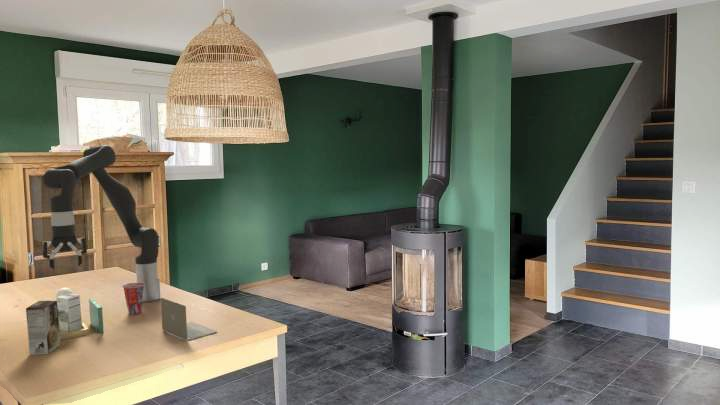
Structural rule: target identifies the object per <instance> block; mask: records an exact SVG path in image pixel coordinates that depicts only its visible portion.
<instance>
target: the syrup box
mask: <svg viewBox="0 0 720 405" xmlns="http://www.w3.org/2000/svg"><path fill="white" fill-rule="evenodd" d="M55 297H56V296H55ZM55 300H56V301H57V308H58V320H59V333H65V332H71V331H76V330H81V329H82V310H81V296H80V294H74V293H73V294H65V295H62V296H59V297H56V299H55Z"/></svg>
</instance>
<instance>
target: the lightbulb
mask: <svg viewBox="0 0 720 405" xmlns="http://www.w3.org/2000/svg"><path fill="white" fill-rule="evenodd" d="M65 294H74V293H73V290H71V288H69V287H61V288H59V289H58V290H57V292H56V293H55V297H59V296H62V295H65Z"/></svg>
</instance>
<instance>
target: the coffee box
mask: <svg viewBox="0 0 720 405" xmlns="http://www.w3.org/2000/svg"><path fill="white" fill-rule="evenodd" d="M25 312H26V324H27V326H26V327H27V340H28V349H29V351H28V352H29V355H30V356H33V355H34V356H35V355H38V356H39V355H49V354H51V353H52V352H53V351H54V350H56V349H57V348H58V347H60V345H61V340H60V333H59V320H58V308H57V300H38V301H36V302H35V303H33V304H31V305H29V306H27V307H26V308H25Z"/></svg>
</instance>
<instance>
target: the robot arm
mask: <svg viewBox="0 0 720 405" xmlns="http://www.w3.org/2000/svg"><path fill="white" fill-rule="evenodd" d="M116 159H117V156H116V152H115V150H114V148H113V147H112V146H110V145H108V144H99V145H97V146H93V147H89V148H86V149H85V150H83V154H82V157H80V158H78V159H74V160H72V161H70V162H68V163H67V164H65V165H62V166H56V167H53V168H49V169H48V170H46V171H45V172H44V174H43V176H42V182H43V184H44V186H45V187H47V188H49V189H51V190H52V189H55V190H56V189H57V190H58V189H61V191H60V193H59V194H56V195H53V196H51V197H50V226H51V237H52V238H51V240H50V241H45V240H43V241H42V257H43V258H44V259H47V260H48V264H49V268H50V269H51V270H55V269H56V268H55V259H54V257H55V256H56V255H57V254H58V252H60V253H61V252H62V253H63V252H70V251H73V252H74V253H75V254H76V263H77V266H78V267H81V265H83V255H85V254H87V253H88V250H87V241H86V238H85V237H80V238H79V237H78V238H77V237H76V225H75V224H76V223H75V222H76V221H75V215H74V210H73V209H74V208H73V207H74V206H73V197H74V192H75V188H76V185H77V184H76V183H77V181H79V180H80V179H82V178H84V177H86V176H88V175H89V174H91V173H92V176H94V178H95V179H96V181H98V182H97V183H99V185H100V186H101V188H102V190H103V192H104V193H105V196H106V197H107V199H108V200H109V203H110V205H111V206H112V207H113V209H114V210H115V212H116V214H117V216H118V217H119V219H120V221H121V223H122V225H123V227H124V229H125V232H126V233H127V237H128V239H129V241H130V242H131V244H132V245H133V246H134V247H136V248H140V249H141V253H140V255H137V256H136V257H135V259H134V260H135V276H136V279H135V280H136V283H144V288H143V302H147V303H148V302H154V301H157V300H161V285H160V284H161V282H160V281H161V280H160V278H159V275H158V274H159V271H158V257H159V244H160V242H159V234H158V232H157V230H156V229H155V228H152V227H143V225H142V224H141V222H140V221H139V219H138V217H137V214H136V213H137V212H136V211H137V205H136V201H135V198H134V196H133V194H132V192H131V191H130V189H129V188H128V187H127V186H126V185H125V184H123V183H122V182H121V181H119V180H117V179H115V178H114V177H113V176H111V174H109V173H108V171H107V170H106V169H105V168H107V167H110V166H112V165H113V164H115V162H116ZM77 242H78V243H79V244H80V245H81V251H80V250H79V249H78V248H77V247H76V244H77ZM50 245H52V246H53V247H54V248H52V250H51V252H50V253H49V254H48V248H50Z"/></svg>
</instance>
